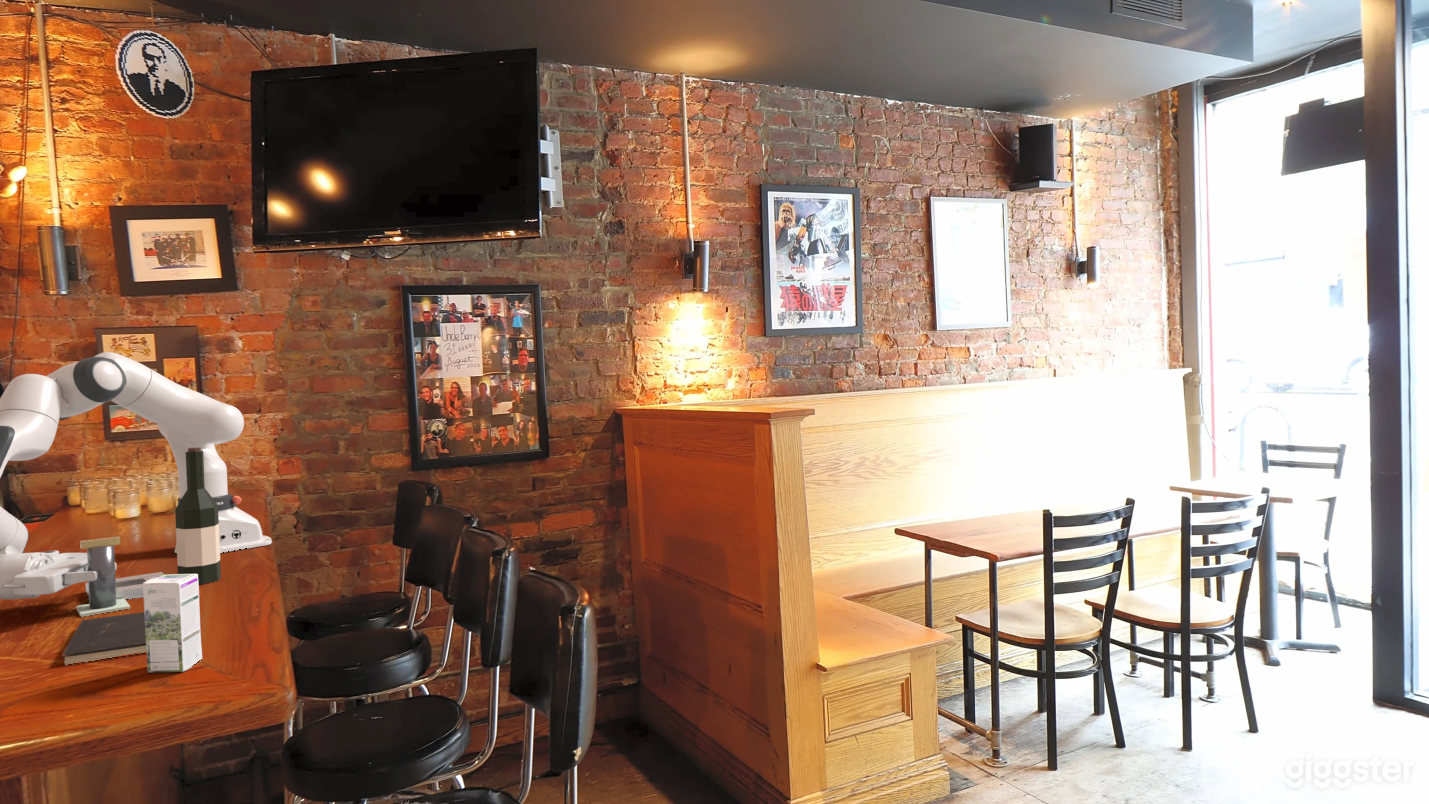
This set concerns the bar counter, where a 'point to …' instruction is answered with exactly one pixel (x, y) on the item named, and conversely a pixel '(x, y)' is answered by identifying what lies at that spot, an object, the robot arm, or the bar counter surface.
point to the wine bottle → (197, 525)
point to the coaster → (86, 611)
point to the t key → (101, 571)
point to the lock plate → (130, 585)
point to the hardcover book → (107, 638)
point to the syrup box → (172, 622)
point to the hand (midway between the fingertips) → (106, 571)
